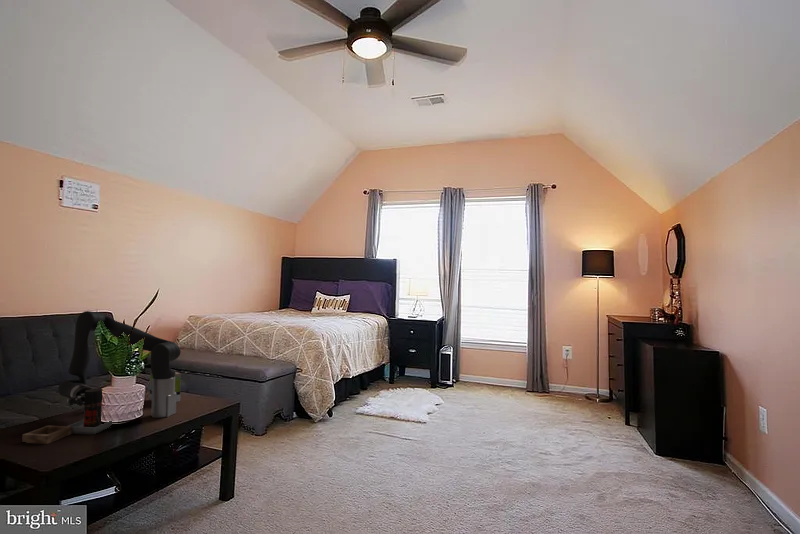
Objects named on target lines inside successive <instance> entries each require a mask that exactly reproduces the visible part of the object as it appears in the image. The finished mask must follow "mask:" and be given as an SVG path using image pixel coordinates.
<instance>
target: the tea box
mask: <svg viewBox="0 0 800 534" xmlns="http://www.w3.org/2000/svg"><path fill="white" fill-rule="evenodd" d="M181 374H182V373H180V372H178V371H175V393H177V397H176V403H178V402H180V401H181V382H182V380H181V379H182V375H181ZM152 382H153V375H152V372H151V371H150V372H149V397H148V398H149V400H150V401H152Z"/></svg>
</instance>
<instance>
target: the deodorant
mask: <svg viewBox="0 0 800 534" xmlns="http://www.w3.org/2000/svg"><path fill="white" fill-rule="evenodd" d="M102 391H103V388H99V387H97V388H96V387H95V388H93V389H89V390H86V391H85V403H84V405H83V406H84V408H83V409H84V410H83V420H84V425H83V427H97V426H99V425H101V417H102V413H103V412H102V411H103V410H102V406H103V401H102Z"/></svg>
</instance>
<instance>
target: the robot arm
mask: <svg viewBox="0 0 800 534" xmlns="http://www.w3.org/2000/svg"><path fill="white" fill-rule="evenodd" d="M100 320H102V321H103V322H104V324H105V326H106V327H107V329H109V330H110V332H111V333H112V334H113V335H114V336H116V337H119V336H120V335H121V334H122V333H123V332H124V333H125V334H126V335H129V334H130V333H131V331H132V328H133V331H132V333H131V335H130V343H131V344H132V345H133V344H135V343H137V342H138V341H139V340H141V339H142V338H143V339H144V337H145V340H144V345H143V350H142V351H146V352H150V372H152V375H153V382H152V400H151V406H150V407H151V411H150V412H151V413H150V416H152V418H156V419H157V418H168V417H171V416H173V415H175V414H176V413H177V402H176V397H177V393H175V372H176V370H175V369H172V368H171V367H170V365H171V364H170V362H173V361H175V360H177V359H178V358H179V357H180V356H181V348H180V346H179V344H177V343H175V341H170V340H167V339H163V338H160V337H157V336H155V335H153V334H151V333H148V332H146V331H144V330H141V329H139V328H137V327H134V326H131V325H129V324H126V323H123V322H120V321H117V320H115V319H114V318H111V317H110V316H108V315H107V314H105V313H102V312H100V311H99V312H98V311H90V310H86V311H82V312H81V313H80V314H79V315H78V317H77V318H76V324H75V334H74V344H73V351H72V352H73V353H72V357H71V360H70V363H69V367H68V371H67V372H68V375H70V376H75V377H78V379H66V380H63V381H61V382H60V383H59V384H58V386H57V392H58V394H59V395H60V396H62V397H64V398H67V401H66V402H67V404H68V405H69V406H73V405H75V406H79V407H82V406H84V403H85V391H86V390H89V389H94V388H93V387H91V386H89V385H88V384H87V371H88V368H89V363H90V360H91V351H90V348H89V336H90V333H91V332H96V331H95V329H96V327H97V323H98V321H100Z"/></svg>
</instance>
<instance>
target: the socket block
mask: <svg viewBox="0 0 800 534" xmlns="http://www.w3.org/2000/svg"><path fill="white" fill-rule="evenodd" d="M71 428H72V427H70V426H68V425H62V426H61V425H45V426H43V427H40V428H37V429H34V430H31V431H29V432H26V433H23V434H22V436H21V437H22V438H21V442H26V443H25V444H41V445H48V444H50V443H53V442H56V441H58V440H60V439H62V438H65V437H67V436H70V435H72V433H71Z"/></svg>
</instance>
